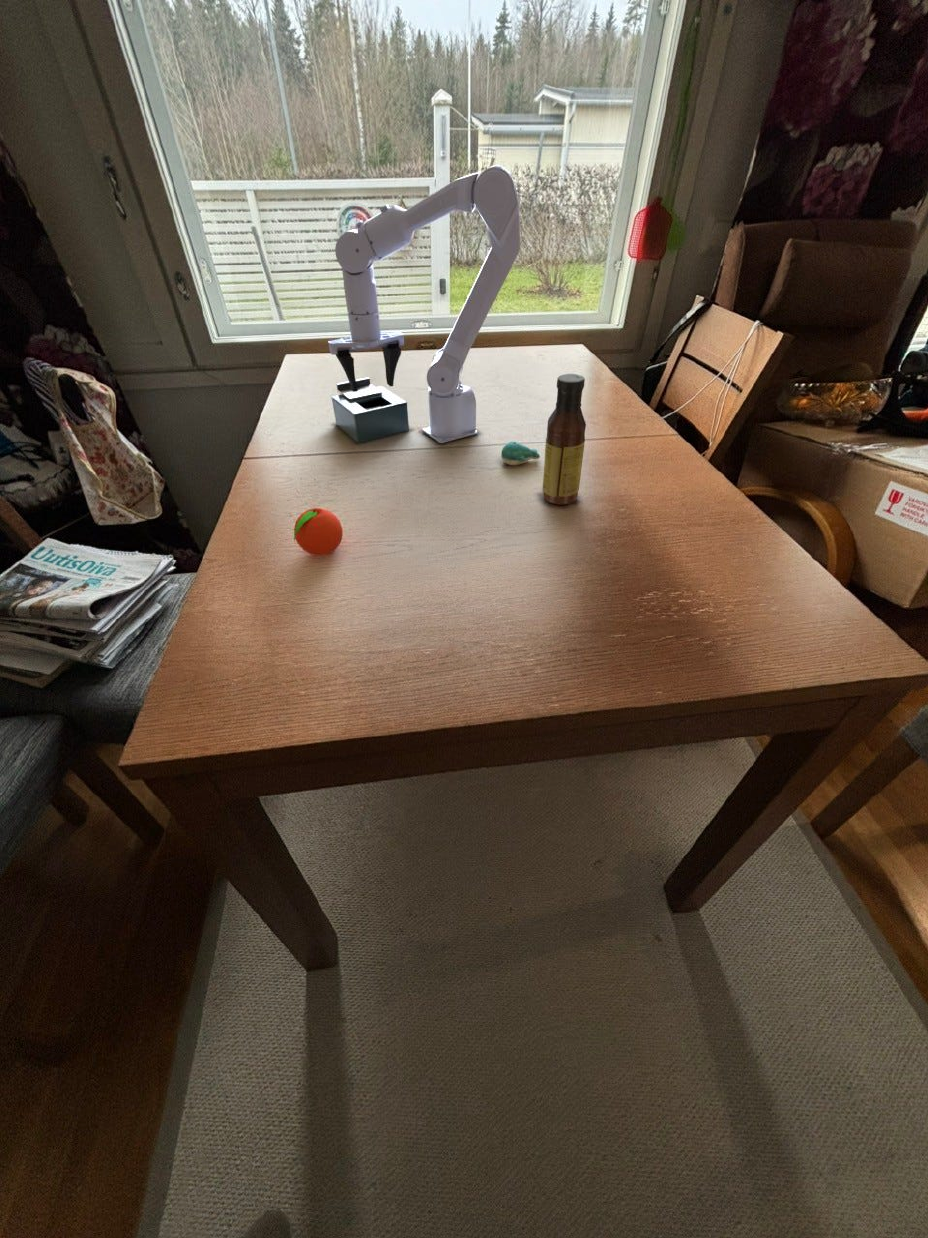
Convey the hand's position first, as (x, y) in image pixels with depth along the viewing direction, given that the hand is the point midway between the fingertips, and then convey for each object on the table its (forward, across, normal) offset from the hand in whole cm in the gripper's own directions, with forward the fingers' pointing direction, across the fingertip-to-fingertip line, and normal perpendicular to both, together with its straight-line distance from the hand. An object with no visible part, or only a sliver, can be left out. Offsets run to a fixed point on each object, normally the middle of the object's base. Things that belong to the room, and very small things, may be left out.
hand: (372, 387), depth 103 cm
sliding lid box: (+9, 0, +3) cm, 10 cm away
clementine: (+9, -22, -39) cm, 46 cm away
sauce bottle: (+9, +20, -41) cm, 46 cm away
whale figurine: (+9, +21, -26) cm, 34 cm away
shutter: (+3, -1, +7) cm, 8 cm away
